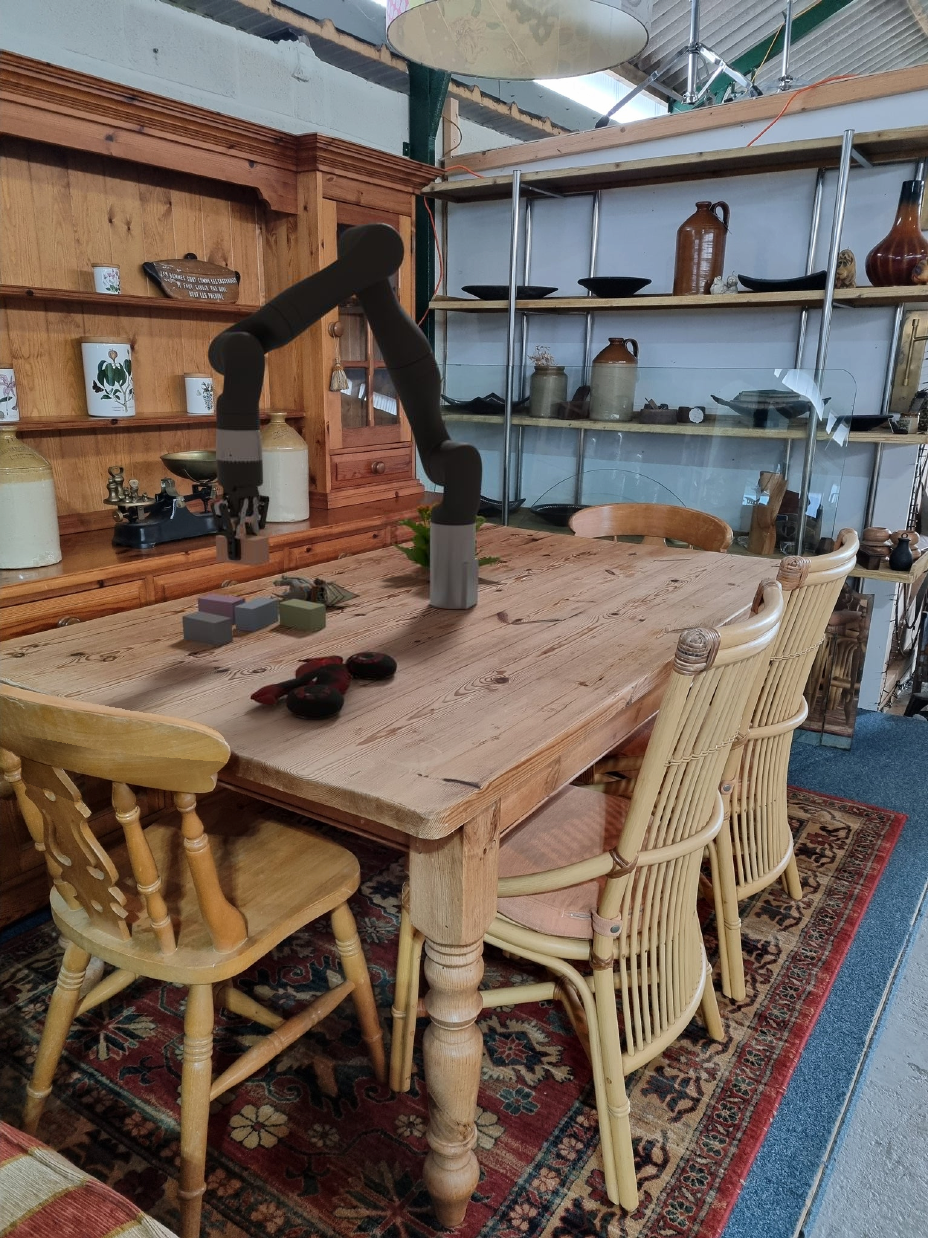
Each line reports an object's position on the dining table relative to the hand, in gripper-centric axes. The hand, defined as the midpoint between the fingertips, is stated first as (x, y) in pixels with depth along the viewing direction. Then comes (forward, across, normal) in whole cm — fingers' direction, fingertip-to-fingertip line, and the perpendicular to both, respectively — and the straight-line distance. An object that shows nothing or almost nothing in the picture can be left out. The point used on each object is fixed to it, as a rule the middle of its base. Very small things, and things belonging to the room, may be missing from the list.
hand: (242, 557), depth 151 cm
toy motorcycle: (+16, -16, -25) cm, 33 cm away
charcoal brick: (+15, -2, +6) cm, 17 cm away
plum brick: (+15, +10, +12) cm, 22 cm away
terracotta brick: (+1, 0, 0) cm, 1 cm away
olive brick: (+15, +12, -4) cm, 20 cm away
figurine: (+15, +28, +2) cm, 32 cm away
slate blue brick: (+15, +10, +4) cm, 18 cm away
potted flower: (+14, +64, -13) cm, 67 cm away
